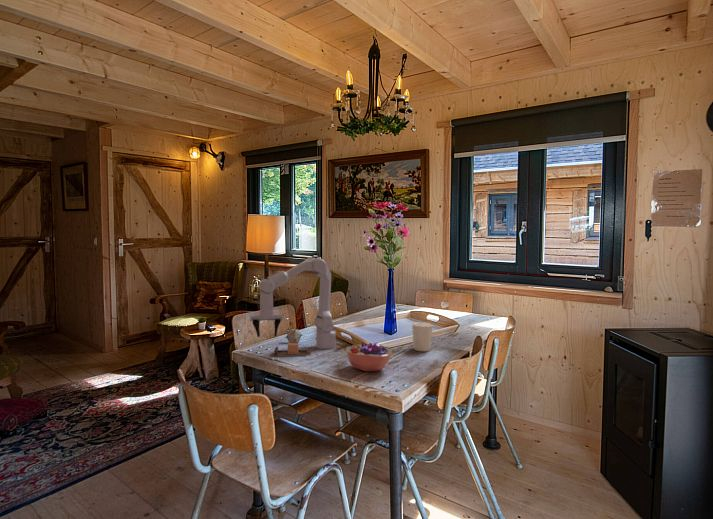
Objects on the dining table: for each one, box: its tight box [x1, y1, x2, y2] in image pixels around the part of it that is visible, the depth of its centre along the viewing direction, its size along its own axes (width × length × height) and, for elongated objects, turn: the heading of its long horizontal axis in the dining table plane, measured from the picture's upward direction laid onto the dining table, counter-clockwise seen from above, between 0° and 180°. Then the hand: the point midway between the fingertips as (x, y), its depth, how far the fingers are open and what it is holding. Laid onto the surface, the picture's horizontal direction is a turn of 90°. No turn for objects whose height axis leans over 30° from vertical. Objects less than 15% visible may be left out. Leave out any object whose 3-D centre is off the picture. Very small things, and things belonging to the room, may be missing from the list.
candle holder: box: [411, 321, 434, 352], centre depth 207 cm, size 10×10×12 cm
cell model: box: [345, 342, 393, 372], centre depth 177 cm, size 17×20×11 cm
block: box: [287, 342, 299, 355], centre depth 195 cm, size 4×4×4 cm
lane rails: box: [273, 349, 308, 358], centre depth 195 cm, size 14×8×2 cm, turn 95°
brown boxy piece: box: [273, 346, 312, 357], centre depth 195 cm, size 16×6×4 cm, turn 95°
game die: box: [284, 327, 302, 343], centre depth 216 cm, size 9×8×10 cm
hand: (267, 336), depth 193 cm, fingers open, 7 cm apart
